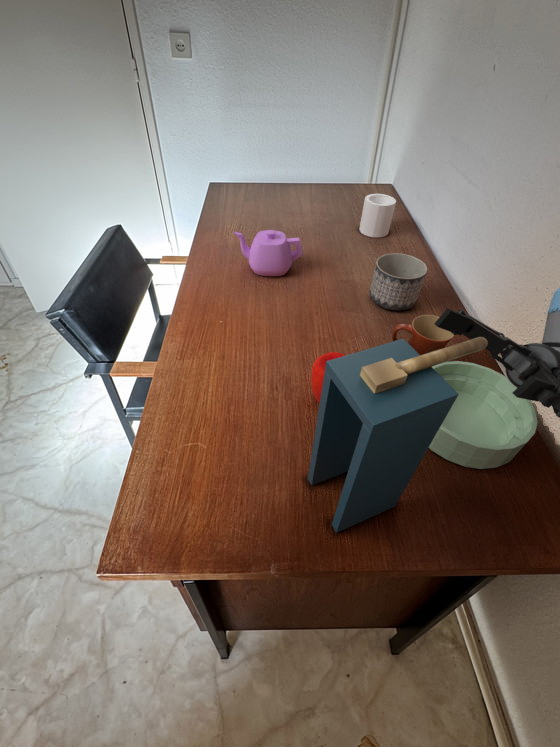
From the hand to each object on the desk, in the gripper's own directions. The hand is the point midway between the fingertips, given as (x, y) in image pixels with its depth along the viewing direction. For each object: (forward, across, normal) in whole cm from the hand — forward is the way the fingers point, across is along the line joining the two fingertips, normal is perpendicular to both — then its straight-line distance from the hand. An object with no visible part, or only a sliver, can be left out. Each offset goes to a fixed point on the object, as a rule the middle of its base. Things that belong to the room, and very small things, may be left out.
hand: (479, 348), depth 46 cm
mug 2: (-54, +82, -1) cm, 98 cm away
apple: (-8, +19, -28) cm, 35 cm away
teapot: (-15, +72, -24) cm, 77 cm away
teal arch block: (-2, 0, -31) cm, 31 cm away
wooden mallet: (+7, 0, -3) cm, 8 cm away
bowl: (-26, +4, -17) cm, 31 cm away
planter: (-36, +44, -11) cm, 58 cm away
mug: (-28, +22, -16) cm, 39 cm away
